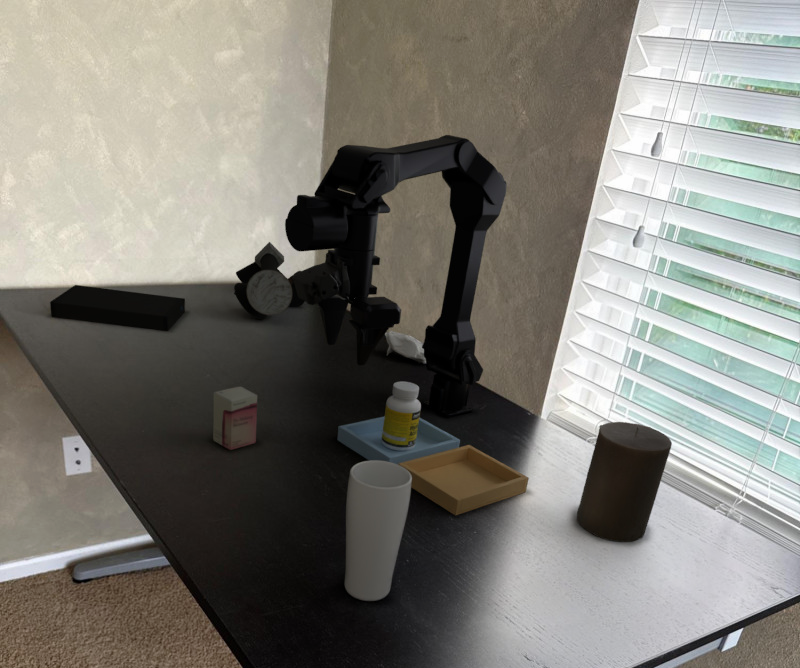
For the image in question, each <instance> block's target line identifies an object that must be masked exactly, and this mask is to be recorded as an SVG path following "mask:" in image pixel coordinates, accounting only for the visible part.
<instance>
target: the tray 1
mask: <svg viewBox="0 0 800 668" xmlns="http://www.w3.org/2000/svg"><path fill="white" fill-rule="evenodd" d="M384 417H385V415H384V416H380V417H376V418H370V419H366V420H361V421H358V422H357V421H356V422H353V423H347V424H343V425H339V426H338V430H337V441H338V442H340V443H341V444H342V445H344V446H345V447H347V448H349V449H351V450H352V451H353V452H355V453H357V454H358V455H360V456H361V457H363V458H365V459H366V460H367V461H371V460H378V461H386V462H391V463H394V464H397V465H398V464H399V463H403V462H406V461H409V460H413V459H417V458H421V457H425V456H428V455H432V454H436V453H440V452H443V451H447V450H451V449H455V448H459V447H460V444H461V439H459V438H457V437H456V436H454V435H452V434H451V433H449V432H446V431H444V430H443V429H441V428H439V427H438V426H436V425H434V424H432V423H430V422H429V421H427V420H425V419H423V418H421V417H419V424H418V430H417V436H416V443H415V446H414V448H412V449H411V450H407V451H397V450H392V449H389V448H387V447H385V446H384V445H383V444H382V432H383V424H384Z"/></svg>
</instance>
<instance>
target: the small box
mask: <svg viewBox="0 0 800 668" xmlns="http://www.w3.org/2000/svg"><path fill="white" fill-rule="evenodd" d="M212 413H213V417H212V418H213V419H212V421H213V422H212V423H213V425H212V426H213V427H212V429H213V430H212V433H213V434H212V436H213V437H212V439H213V440H212V441H213V442H215V443H217V444H219V445H220V446H222V447H224V448H226V449H228V450H230V451H232V450H235V449H239V448H243V447H247V446H250V445H253V444H256V443H257V419H258V418H257V417H258V416H257V414H258V394H256V393H254V392H252V391H250V390H248V389H246V388H245V387H243V386H235V387H230V388H226V389H222V390H217V391H213V412H212Z"/></svg>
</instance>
